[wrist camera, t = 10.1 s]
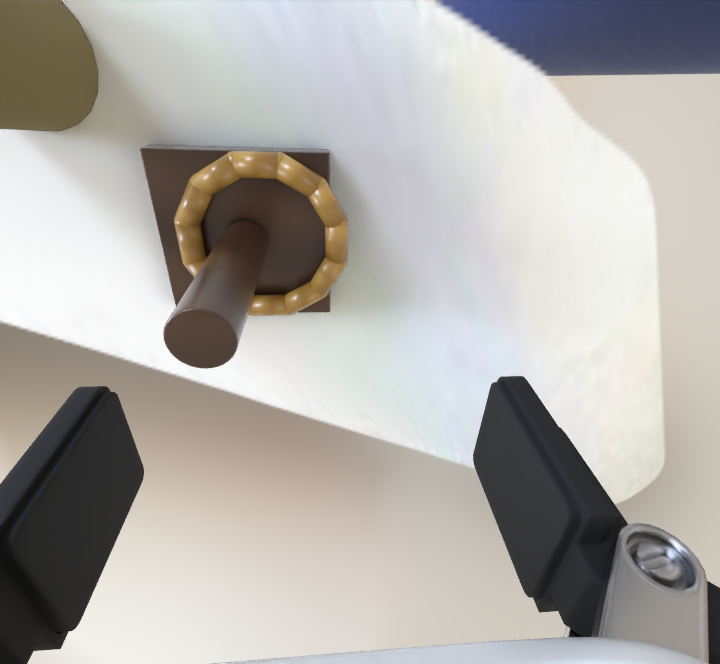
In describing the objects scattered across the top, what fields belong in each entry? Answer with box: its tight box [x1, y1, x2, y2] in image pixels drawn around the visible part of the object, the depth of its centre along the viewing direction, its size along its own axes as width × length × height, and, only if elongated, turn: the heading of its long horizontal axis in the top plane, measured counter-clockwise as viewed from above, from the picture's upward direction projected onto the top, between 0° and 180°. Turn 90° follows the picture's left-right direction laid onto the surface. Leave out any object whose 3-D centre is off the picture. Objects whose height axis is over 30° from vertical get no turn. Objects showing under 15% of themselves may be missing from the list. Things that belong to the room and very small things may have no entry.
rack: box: [140, 145, 330, 368], centre depth 18 cm, size 9×9×11 cm
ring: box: [174, 151, 348, 316], centre depth 22 cm, size 9×9×1 cm
